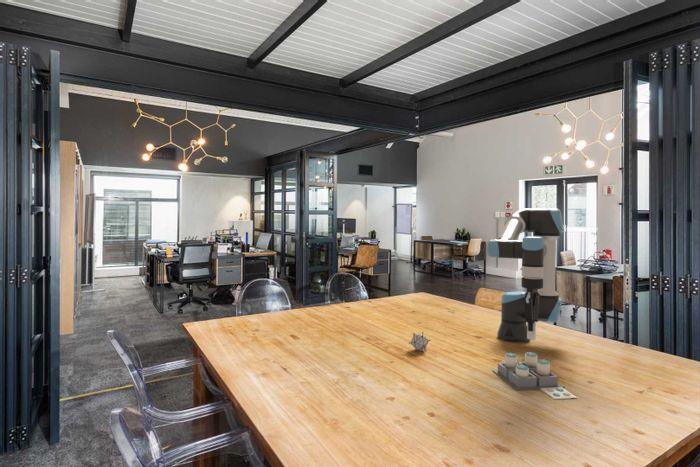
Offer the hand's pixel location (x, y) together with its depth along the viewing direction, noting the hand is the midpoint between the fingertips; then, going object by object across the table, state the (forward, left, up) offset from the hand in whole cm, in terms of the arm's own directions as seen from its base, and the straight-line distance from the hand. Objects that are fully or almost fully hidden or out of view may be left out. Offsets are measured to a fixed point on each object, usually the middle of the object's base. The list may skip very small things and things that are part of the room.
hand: (531, 338), depth 153 cm
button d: (0, 0, -11) cm, 11 cm away
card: (0, +17, -14) cm, 22 cm away
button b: (+8, 0, -11) cm, 13 cm away
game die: (+35, -32, -14) cm, 49 cm away
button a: (+8, +8, -12) cm, 17 cm away
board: (+4, +4, -14) cm, 15 cm away
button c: (0, +8, -11) cm, 13 cm away
